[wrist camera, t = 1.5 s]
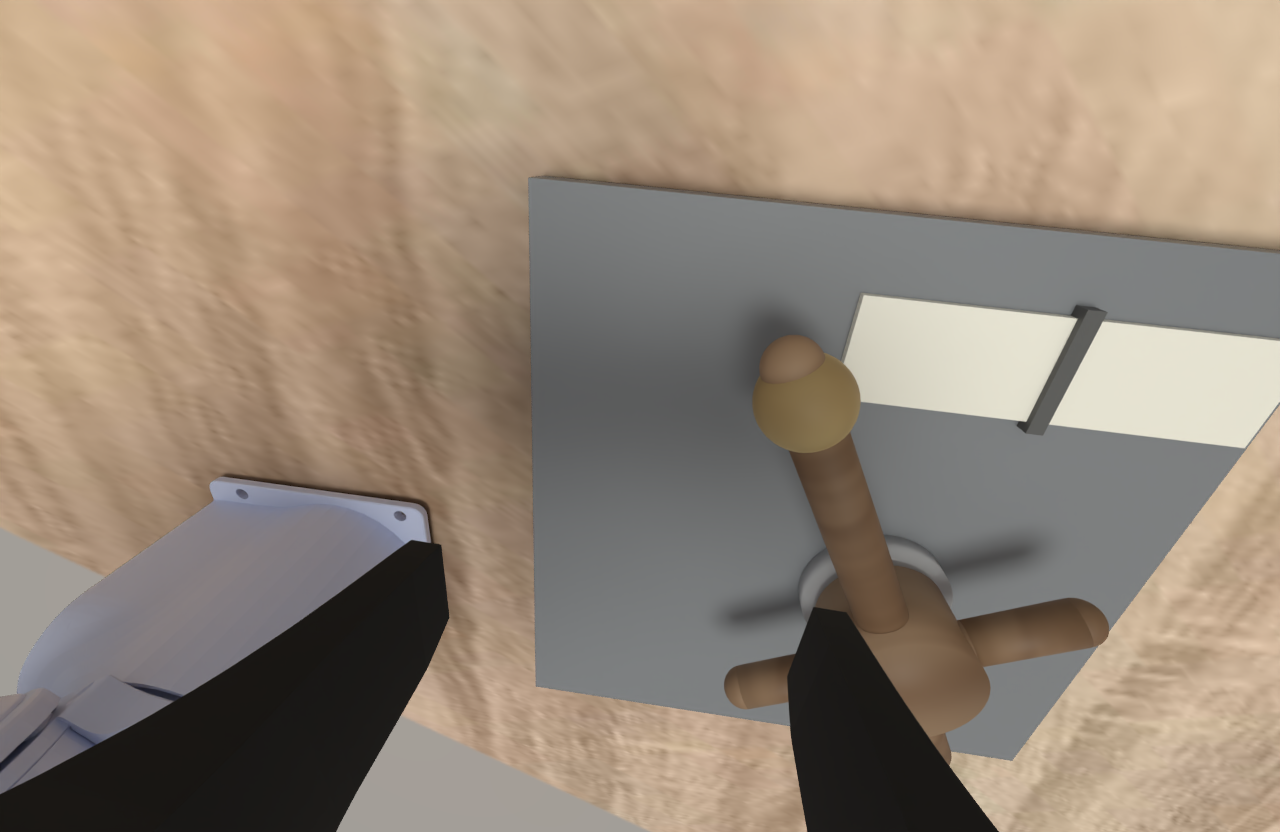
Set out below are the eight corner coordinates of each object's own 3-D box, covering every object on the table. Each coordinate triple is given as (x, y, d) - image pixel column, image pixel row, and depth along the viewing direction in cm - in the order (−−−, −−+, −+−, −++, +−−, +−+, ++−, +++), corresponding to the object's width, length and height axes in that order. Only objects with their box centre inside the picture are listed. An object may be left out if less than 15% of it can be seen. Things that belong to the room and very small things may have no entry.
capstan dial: (1080, 683, 19) (1147, 776, 16) (771, 733, 22) (782, 819, 19) (1010, 221, 12) (1104, 241, 9) (584, 391, 15) (558, 444, 13)
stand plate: (544, 658, 25) (530, 702, 23) (543, 175, 15) (519, 179, 13) (994, 727, 24) (1022, 779, 22) (1320, 254, 14) (1425, 271, 12)
